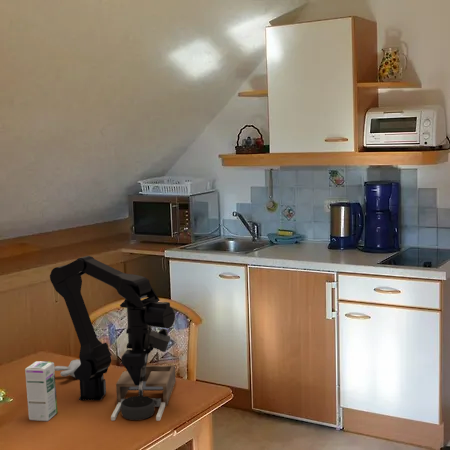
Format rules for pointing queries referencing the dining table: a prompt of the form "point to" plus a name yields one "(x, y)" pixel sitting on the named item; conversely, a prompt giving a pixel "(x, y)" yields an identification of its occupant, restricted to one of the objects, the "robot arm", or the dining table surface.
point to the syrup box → (41, 391)
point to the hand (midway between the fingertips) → (140, 379)
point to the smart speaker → (137, 407)
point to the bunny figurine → (68, 368)
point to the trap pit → (146, 387)
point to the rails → (120, 408)
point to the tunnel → (149, 381)
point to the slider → (143, 377)
